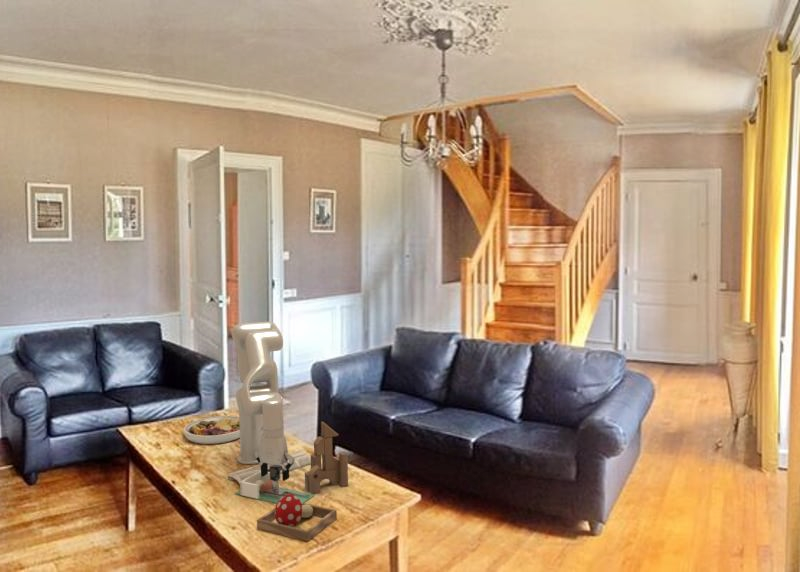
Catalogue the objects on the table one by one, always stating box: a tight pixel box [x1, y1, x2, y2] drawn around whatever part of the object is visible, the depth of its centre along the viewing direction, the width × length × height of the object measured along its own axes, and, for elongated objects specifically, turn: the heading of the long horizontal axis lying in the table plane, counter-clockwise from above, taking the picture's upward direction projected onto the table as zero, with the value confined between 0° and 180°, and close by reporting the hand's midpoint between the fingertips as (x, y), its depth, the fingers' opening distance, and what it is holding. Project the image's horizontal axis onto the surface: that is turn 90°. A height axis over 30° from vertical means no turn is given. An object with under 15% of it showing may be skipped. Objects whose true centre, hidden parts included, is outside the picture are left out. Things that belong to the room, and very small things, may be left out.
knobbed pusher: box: [260, 465, 286, 496], centre depth 232 cm, size 6×8×10 cm
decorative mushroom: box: [274, 494, 313, 528], centre depth 210 cm, size 11×11×15 cm
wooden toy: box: [304, 421, 349, 495], centre depth 237 cm, size 15×7×25 cm, turn 120°
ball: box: [255, 480, 264, 491], centre depth 235 cm, size 4×4×4 cm
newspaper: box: [227, 448, 311, 486], centre depth 256 cm, size 35×12×4 cm, turn 132°
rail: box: [261, 489, 312, 503], centre depth 230 cm, size 6×18×1 cm, turn 64°
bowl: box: [183, 415, 240, 445], centre depth 300 cm, size 30×30×8 cm
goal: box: [239, 470, 270, 500], centre depth 235 cm, size 12×8×5 cm, turn 154°
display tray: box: [256, 502, 337, 542], centre depth 209 cm, size 17×20×3 cm
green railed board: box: [234, 486, 316, 504], centre depth 232 cm, size 11×28×1 cm, turn 64°
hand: (275, 477), depth 231 cm, fingers open, 9 cm apart
